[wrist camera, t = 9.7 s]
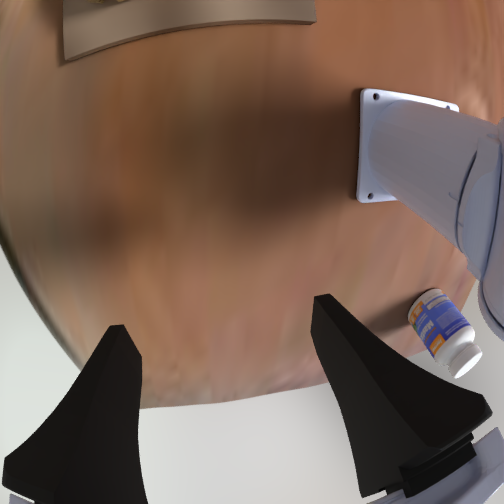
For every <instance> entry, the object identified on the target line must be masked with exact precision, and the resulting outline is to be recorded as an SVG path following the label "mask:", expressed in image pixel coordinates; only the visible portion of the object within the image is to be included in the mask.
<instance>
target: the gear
mask: <svg viewBox="0 0 504 504" xmlns="http://www.w3.org/2000/svg"><path fill="white" fill-rule="evenodd" d="M86 1H88V2H90V3H99V4H103V2H104V1H105V0H86ZM117 1H118V2H121V1H124V0H117Z"/></svg>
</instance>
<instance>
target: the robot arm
mask: <svg viewBox="0 0 504 504" xmlns="http://www.w3.org/2000/svg"><path fill="white" fill-rule="evenodd" d="M374 93H375V94H376V99H375V100H374V99H373V94H374ZM446 107H447V108H446ZM369 193H371V196H370V197H368V194H369ZM356 197H357V200H358V201H360V202H361V203H370V202H380V201H391V200H399V201H400V202H402V203H403V204H404V205H406V206H407V207H408V208H410V209H411V210H412V211H413V212H415V213H416V214H417V215H419V216H420V217H421V218H422V219H424V220H425V221H426V222H427V223H429V224H430V225H431V226H432V227H433V228H435V229H436V230H437V231H438V232H439V233H440V234H442V235H443V236H444V237H445V238H446V239H447V240H449V241H450V242H451V243H452V244H453V245H454V246H455V247H456V248H458V249H459V250H460V251H461V252H462V253H463V254H464V255H465V256H466V257H467V261H468V265H467V269H468V270H469V271H470V272H471V273H472V274H473V275H474V276H475V277H476V278H477V279H478V280H479V281H480V282H479V286H478V302H479V307H480V310H481V313H482V315H483V318H484V319H485V321H486V323H487V324H488V326H489V327H490V329H491V330H492V331H493V332H494V334H496V335H497V336H498V337H499V338H500V339H501V340H503V341H504V117H503V118H502V119H501V120H500V121H499V123H498V125H496V124H494V123H491V122H488V121H485V120H482V119H479V118H477V117H473V116H470V115H467V114H464V113H461V112H459V108H458V106H457V105H456V104H452V103H448V102H444V101H440V100H435V99H431V98H426V97H421V96H416V95H411V94H405V93H399V92H392V91H385V90H378V89H369V88H365V89H363V90H362V91H361V94H360V147H359V167H358V181H357V194H356ZM311 336H312V339H313V342H314V346H315V349H316V352H317V355H318V358H319V360H320V362H321V365H322V367H323V369H324V371H325V374H326V376H327V378H328V381H329V383H330V385H331V387H332V390H333V392H334V394H335V397H336V399H337V401H338V404H339V407H340V409H341V413H342V416H343V419H344V423H345V426H346V430H347V433H348V437H349V441H350V445H351V449H352V453H353V458H354V463H355V467H356V473H357V479H358V485H359V491H360V494H361V497H362V498H364V497H367V496H370V495H373V494H375V493H378V492H381V491H383V490H386V493H387V495H386V496H384V497H382V498H380V499H377V500H375V501H373V502H370V503H367V504H484V503H485V501H487V500H488V499H489V498H490V497H491V496H492V495H493V494H494V493H495V492H496V491H497V490H498V489H499V488H500V487H501V486H502V485H503V484H504V439H503V437H502V435H501V433H500V431H499V429H498V427H496V428H494V429H493V430H492V431H490V432H489V433H488V434H487V435H485V436H484V437H483V438H481V439H480V440H479V441H477V442H476V443H474V444H472V443H471V441H472V440H473V439H474V437H473V434H472V431H473V430H474V429H476V428H477V427H478V426H480V425H481V424H482V423H483V422H485V421H486V420H487V419H488V418H489V417H491V416H492V410H491V409H490V407H489V405H488V403H487V402H486V400H485V399H484V397H483V395H482V394H478V393H476V392H473V391H470V390H467V389H464V388H461V387H458V386H456V385H454V384H452V383H449V382H447V381H445V380H443V379H441V378H439V377H437V376H435V375H433V374H431V373H429V372H428V371H426V370H424V369H422V368H420V367H419V366H417V365H415V364H414V363H412V362H410V361H409V360H407V359H406V358H404V357H403V356H402V355H400V354H399V353H397V352H396V351H395V350H393V349H392V348H391V347H389V346H388V345H387V344H385V343H384V342H383V341H382V340H380V339H379V338H378V337H377V336H376V335H374V334H373V333H372V332H371V331H370V330H369V329H367V328H366V327H365V326H364V325H363V324H362V323H361V322H359V321H358V320H357V319H356V318H355V317H354V316H353V315H352V314H351V313H350V312H349V311H348V310H347V309H346V308H344V307H343V306H342V305H341V304H340V303H339V302H338V301H337V300H336V299H335V298H334V297H333V296H332V295H331V294H324V295H319V296H314V304H313V314H312V323H311ZM141 387H142V356H141V354H140V353H139V351H138V349H137V348H136V346H135V344H134V342H133V341H132V339H131V337H130V335H129V334H128V332H127V330H126V328H125V326H124V324H123V325H112V326H109V328H108V329H107V331H106V332H105V334H104V335H103V337H102V339H101V340H100V342H99V343H98V345H97V347H96V348H95V350H94V352H93V353H92V355H91V357H90V358H89V360H88V361H87V363H86V365H85V366H84V368H83V370H82V371H81V373H80V374H79V376H78V377H77V379H76V380H75V382H74V383H73V385H72V387H71V388H70V390H69V391H68V392H67V394H66V395H65V397H64V398H63V399H62V401H61V402H60V403H59V405H58V406H57V407H56V408H55V410H54V411H53V412H52V413H51V415H50V416H49V417H48V418H47V419H46V420H45V421H44V422H43V424H42V425H41V426H40V427H39V428H38V429H37V430H36V431H35V432H34V433H33V434H32V435H31V436H30V437H29V438H28V439H27V440H26V441H25V442H24V443H23V444H21V445H20V446H19V447H18V448H17V449H15V450H14V451H13V452H12V453H10V454H9V455H8V456H6V457H5V460H4V468H3V477H2V485H3V486H4V487H6V488H8V489H10V490H11V491H14V492H16V493H18V494H20V495H22V496H24V497H27V498H29V499H31V500H34V503H32V502H29V501H27V500H25V499H23V498H20V497H18V496H16V495H13V494H10V502H9V504H148V501H147V498H146V494H145V489H144V484H143V479H142V473H141V465H140V457H139V445H138V421H139V409H140V398H141Z"/></svg>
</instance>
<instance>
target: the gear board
mask: <svg viewBox="0 0 504 504" xmlns="http://www.w3.org/2000/svg"><path fill="white" fill-rule="evenodd" d="M315 22H317V20H316V10H315V1H314V0H124V1H121V2H118V1H117V0H105V1H104V2H103V4H99V3H90V2H88V1H86V0H63V40H64V56H65V60H68V61H73V60H76V59H78V58H81V57H83V56H86V55H89V54H91V53H94V52H97V51H100V50H103V49H106V48H109V47H112V46H115V45H119V44H122V43H126V42H129V41H133V40H137V39H141V38H145V37H149V36H153V35H158V34H163V33H168V32H173V31H179V30H185V29H192V28H199V27H207V26H217V25H228V24H246V23H288V24H305V25H311V24H313V23H315Z"/></svg>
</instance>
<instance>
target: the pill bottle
mask: <svg viewBox="0 0 504 504" xmlns="http://www.w3.org/2000/svg"><path fill="white" fill-rule="evenodd" d="M408 320H409V322H410V324H411V325H412V327H413V328H414V330H415V331H416V332H417V334H418V335H419V337H420V338H421V340H422V341H423V343H424V344H425V346H426V347H427V349H428V350H429V352H430V354H431V355H432V357H433V358H434V360H435V361H436V363H437V364H438V365H440V366H445V365H448V366H449V372H450V373H451V375H452V376H453V377H454V378H455V379H456V378H458V377H460V376H462V375H463V374H465V373H466V372H467V371H469V370H470V369H471V368H472V367H473V366H474V365H475V364H476V363H477V362H478V360H479V359H480V358H481V356H482V351H481V350H480V348H479V346H478V345H477V344H473V340H474V337H475V332H474V329H473V328H472V327H471V325H470V324H469V323H468V321H467V320H466V319H465V318H464V316H463V315H462V314H461V313H460V311H459V310H458V309H457V308H456V306H455V305H454V304H453V303H452V302H451V300H450V299H449V298H448V297H447V296H446V295H445V293H444V292H443V291H442V290H440V289H431V290H429V291H427V292H425V293H424V294H422V295H421V296H420V297H419V298H418V299H417V300H416V301H415V302H414V304H413V305H412V307H411V309H410V311H409V313H408Z"/></svg>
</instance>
